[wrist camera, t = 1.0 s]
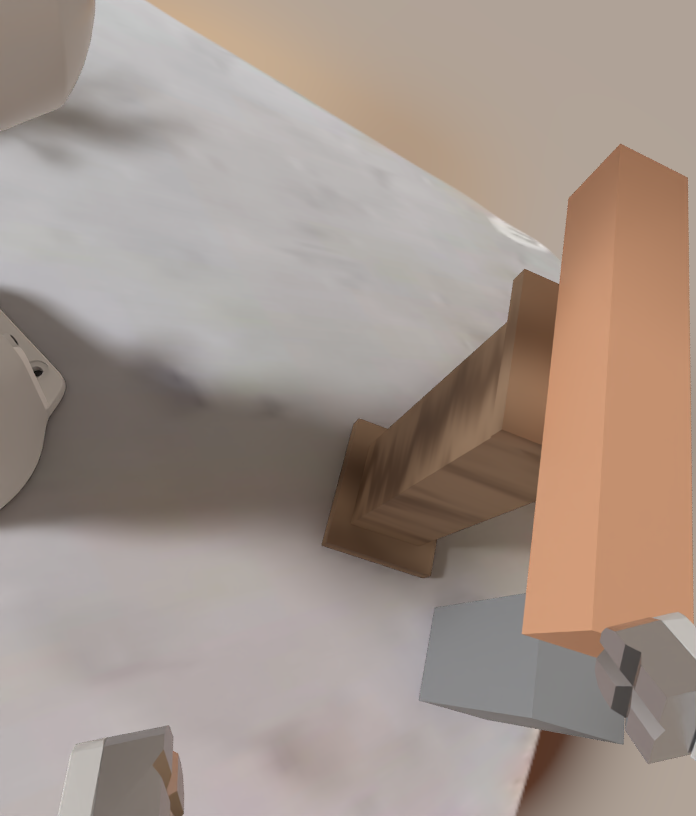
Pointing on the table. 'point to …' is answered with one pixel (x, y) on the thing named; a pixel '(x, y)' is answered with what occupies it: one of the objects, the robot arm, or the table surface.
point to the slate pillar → (513, 673)
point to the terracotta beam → (616, 413)
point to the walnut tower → (452, 446)
